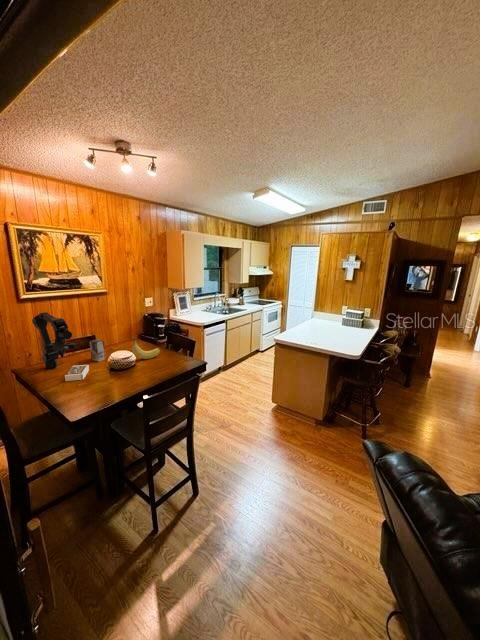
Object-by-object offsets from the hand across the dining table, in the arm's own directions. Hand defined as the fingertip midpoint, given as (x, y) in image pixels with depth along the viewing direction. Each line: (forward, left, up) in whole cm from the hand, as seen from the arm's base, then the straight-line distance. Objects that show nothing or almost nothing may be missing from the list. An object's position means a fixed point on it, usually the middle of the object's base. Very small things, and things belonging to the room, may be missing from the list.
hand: (62, 357), depth 189 cm
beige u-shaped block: (+10, -6, -12) cm, 17 cm away
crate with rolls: (+9, -6, -12) cm, 16 cm away
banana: (+56, +16, -12) cm, 59 cm away
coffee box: (+18, +22, -12) cm, 31 cm away
